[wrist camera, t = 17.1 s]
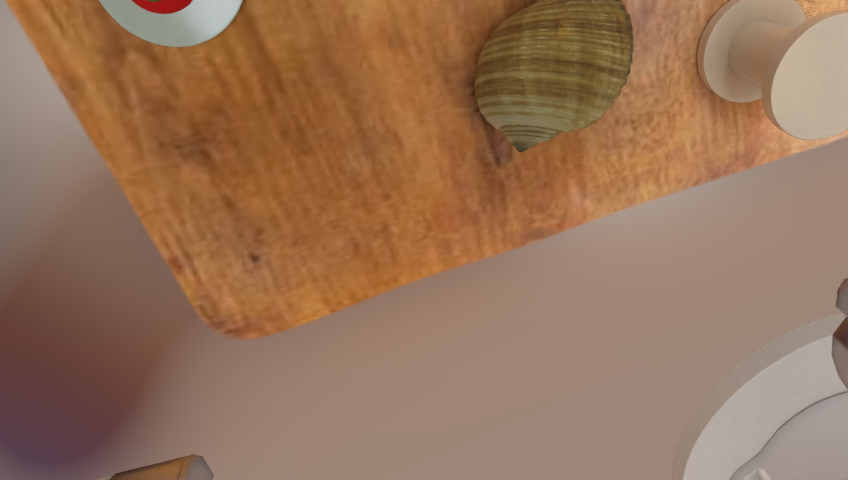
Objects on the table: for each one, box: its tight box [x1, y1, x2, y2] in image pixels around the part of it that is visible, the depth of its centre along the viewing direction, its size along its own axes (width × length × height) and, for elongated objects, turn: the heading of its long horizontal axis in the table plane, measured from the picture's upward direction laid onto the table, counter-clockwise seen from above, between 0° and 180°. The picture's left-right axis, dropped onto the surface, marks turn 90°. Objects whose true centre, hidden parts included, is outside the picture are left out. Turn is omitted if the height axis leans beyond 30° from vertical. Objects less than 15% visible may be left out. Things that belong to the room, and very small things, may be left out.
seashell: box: [474, 0, 633, 152], centre depth 34 cm, size 10×7×8 cm
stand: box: [697, 0, 848, 140], centre depth 35 cm, size 6×6×7 cm
